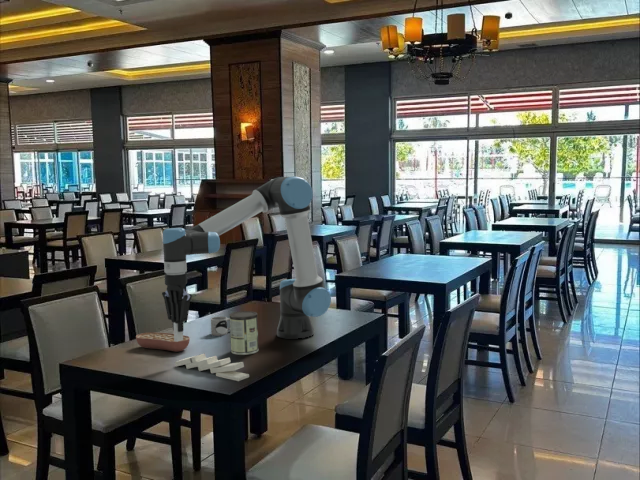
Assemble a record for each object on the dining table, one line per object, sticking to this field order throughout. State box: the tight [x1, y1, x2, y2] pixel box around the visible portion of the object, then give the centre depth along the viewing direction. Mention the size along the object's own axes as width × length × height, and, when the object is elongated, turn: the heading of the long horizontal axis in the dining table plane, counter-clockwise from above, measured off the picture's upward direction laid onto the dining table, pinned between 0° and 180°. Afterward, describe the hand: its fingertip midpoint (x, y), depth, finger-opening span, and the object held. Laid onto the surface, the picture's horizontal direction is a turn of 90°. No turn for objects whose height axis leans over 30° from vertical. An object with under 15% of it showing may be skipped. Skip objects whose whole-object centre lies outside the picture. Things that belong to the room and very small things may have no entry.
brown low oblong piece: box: [135, 331, 191, 353], centre depth 240 cm, size 23×10×5 cm, turn 65°
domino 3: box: [197, 357, 231, 372], centre depth 210 cm, size 2×5×10 cm
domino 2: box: [185, 355, 219, 370], centre depth 213 cm, size 2×5×10 cm
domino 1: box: [174, 353, 207, 368], centre depth 216 cm, size 2×5×10 cm
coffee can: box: [228, 310, 259, 356], centre depth 234 cm, size 10×10×14 cm
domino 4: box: [209, 361, 245, 374], centre depth 208 cm, size 2×5×10 cm
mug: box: [210, 315, 230, 337], centre depth 263 cm, size 10×7×7 cm
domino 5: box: [215, 370, 250, 382], centre depth 205 cm, size 2×5×10 cm
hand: (178, 340), depth 219 cm, fingers closed
